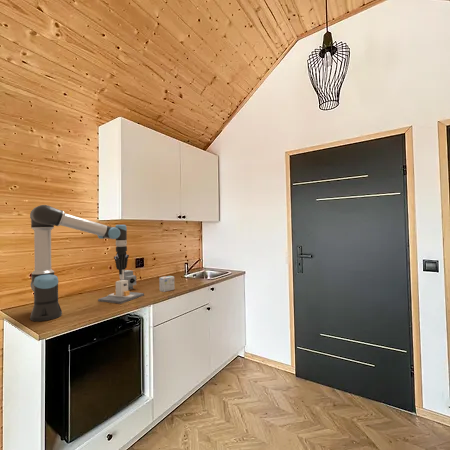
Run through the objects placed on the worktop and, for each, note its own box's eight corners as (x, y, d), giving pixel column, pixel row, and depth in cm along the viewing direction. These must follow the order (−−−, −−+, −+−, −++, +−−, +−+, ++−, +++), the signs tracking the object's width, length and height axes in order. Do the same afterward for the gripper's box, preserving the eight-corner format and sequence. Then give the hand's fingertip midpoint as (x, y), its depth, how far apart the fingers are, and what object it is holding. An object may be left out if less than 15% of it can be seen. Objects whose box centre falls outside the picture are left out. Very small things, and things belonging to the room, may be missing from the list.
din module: (122, 296, 193) (122, 282, 193) (115, 295, 195) (115, 281, 195) (129, 294, 199) (129, 280, 199) (122, 293, 201) (122, 279, 202)
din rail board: (120, 303, 182) (120, 295, 182) (98, 301, 190) (98, 293, 190) (144, 295, 205) (143, 288, 205) (122, 293, 212) (122, 286, 212)
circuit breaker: (129, 291, 218) (129, 272, 218) (119, 289, 226) (119, 271, 227) (137, 289, 224) (137, 271, 224) (127, 287, 232) (127, 269, 233)
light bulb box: (169, 288, 227) (169, 275, 227) (174, 289, 223) (174, 276, 223) (159, 290, 219) (158, 277, 219) (164, 292, 214) (164, 278, 214)
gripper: (118, 246, 190) (119, 280, 190) (131, 245, 202) (132, 277, 202) (110, 246, 193) (111, 280, 193) (123, 245, 205) (124, 276, 205)
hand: (121, 278), depth 197 cm, fingers closed
